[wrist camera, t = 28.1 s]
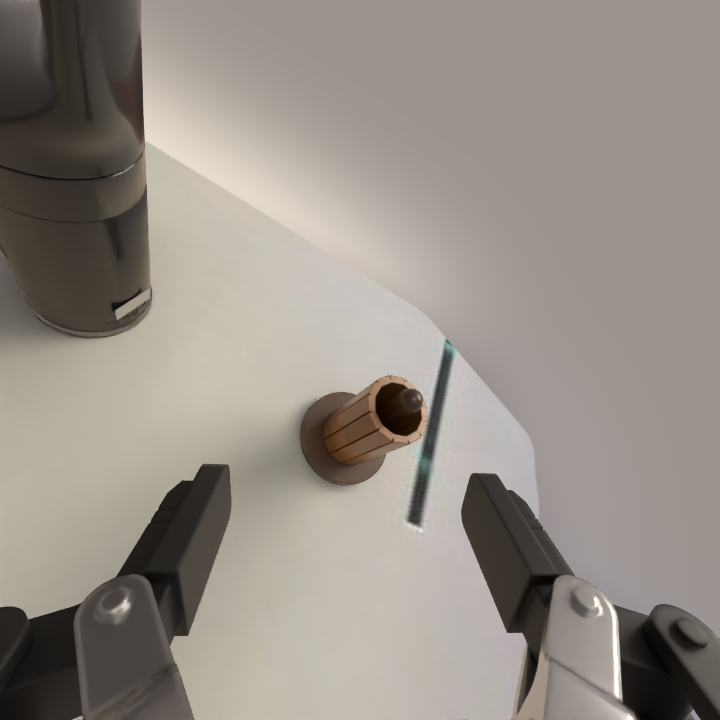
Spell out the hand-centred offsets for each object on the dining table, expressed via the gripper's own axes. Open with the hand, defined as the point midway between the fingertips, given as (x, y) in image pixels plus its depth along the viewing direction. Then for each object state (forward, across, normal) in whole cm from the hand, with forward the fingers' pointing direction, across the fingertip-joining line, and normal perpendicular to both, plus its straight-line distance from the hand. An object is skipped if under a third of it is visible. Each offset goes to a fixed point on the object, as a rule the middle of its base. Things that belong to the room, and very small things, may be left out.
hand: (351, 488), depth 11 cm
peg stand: (+23, -1, +14) cm, 27 cm away
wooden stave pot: (+22, -2, +14) cm, 26 cm away
